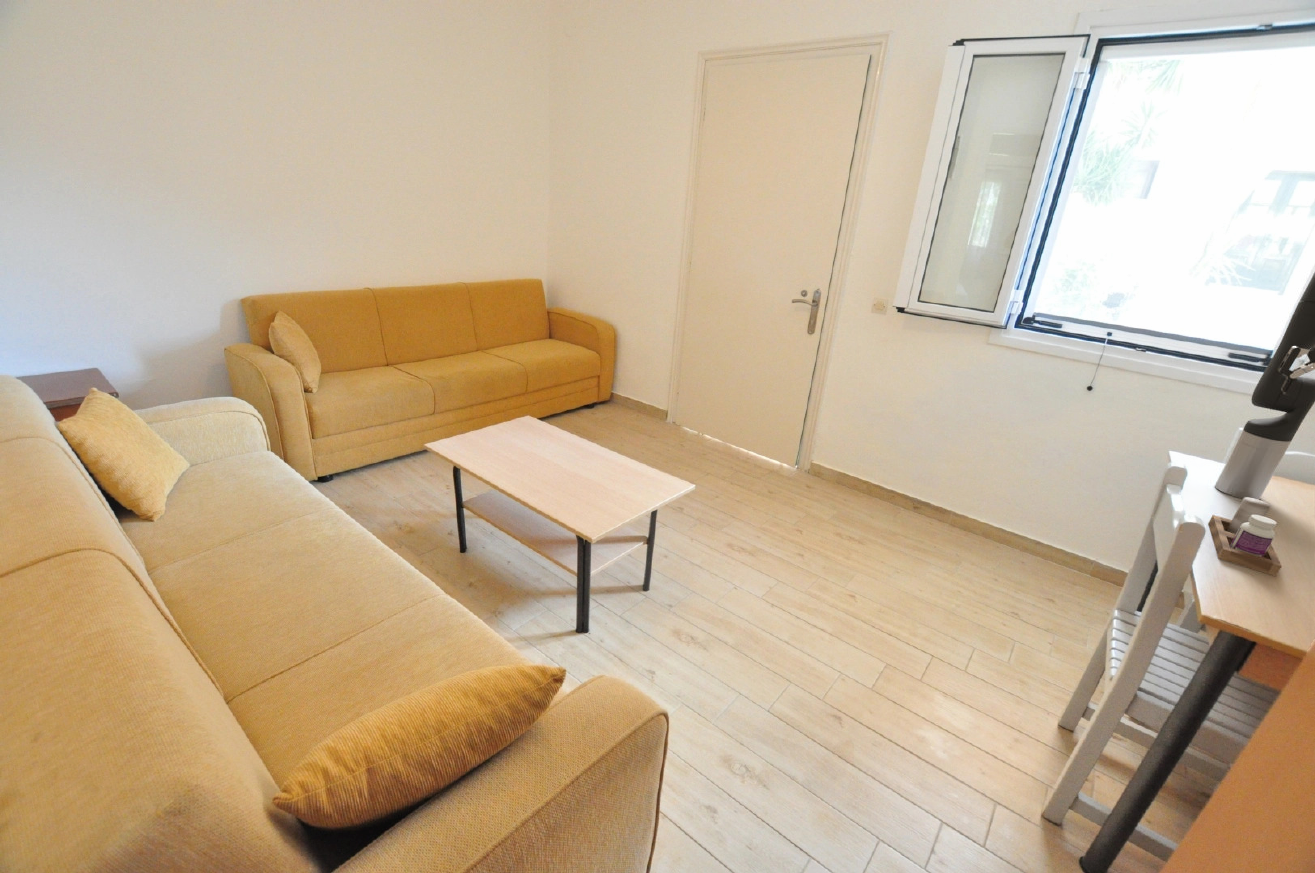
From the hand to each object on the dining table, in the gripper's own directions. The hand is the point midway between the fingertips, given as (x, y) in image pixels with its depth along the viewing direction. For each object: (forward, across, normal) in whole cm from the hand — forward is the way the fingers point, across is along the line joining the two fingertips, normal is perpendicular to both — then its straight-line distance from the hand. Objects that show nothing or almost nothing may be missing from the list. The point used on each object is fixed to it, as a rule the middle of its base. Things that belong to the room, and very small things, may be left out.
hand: (1313, 399), depth 123 cm
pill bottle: (+33, +2, +18) cm, 38 cm away
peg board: (+33, +2, +13) cm, 36 cm away
